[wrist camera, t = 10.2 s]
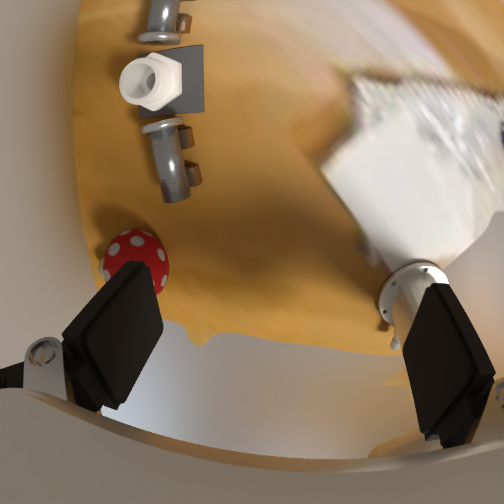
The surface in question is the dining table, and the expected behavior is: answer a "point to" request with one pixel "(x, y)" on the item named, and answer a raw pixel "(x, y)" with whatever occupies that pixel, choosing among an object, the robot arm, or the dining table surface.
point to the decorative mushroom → (136, 256)
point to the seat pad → (183, 83)
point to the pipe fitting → (151, 81)
